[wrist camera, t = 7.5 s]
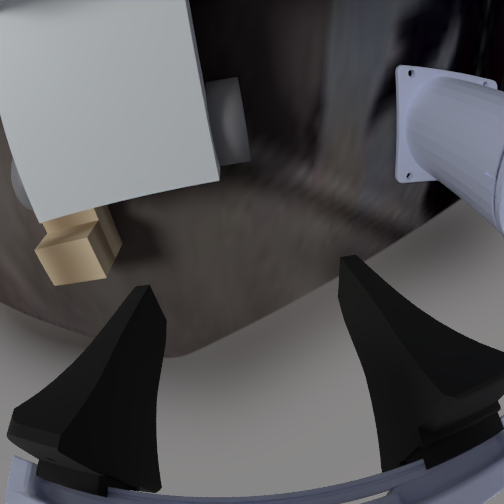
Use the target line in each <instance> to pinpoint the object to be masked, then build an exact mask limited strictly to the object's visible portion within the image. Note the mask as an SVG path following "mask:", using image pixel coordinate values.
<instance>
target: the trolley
mask: <svg viewBox="0 0 504 504" xmlns="http://www.w3.org/2000/svg"><path fill="white" fill-rule="evenodd" d="M0 115H1V119H2V123H3V126H4V130H5V133H6V137H7V140H8V143H9V146H10V149H11V152H12V156H13V160H12V166H11V179H12V184H13V188H14V191H15V193H16V196H17V197H18V199H19V201H20V202H21V203H22V204H23V205H24V206H25V207H26V208H27V209H29V210H31V211H34V212H35V214H36V217H37V219H38V221H39V223H42V222H45V221H49V220H52V219H55V218H59V217H62V216H66V215H69V214H73V213H77V212H80V211H84V210H88V209H92V208H95V207H99V206H103V205H107V204H111V203H115V202H119V201H123V200H128V199H132V198H136V197H140V196H145V195H149V194H154V193H159V192H163V191H168V190H173V189H178V188H183V187H188V186H193V185H198V184H204V183H209V182H215V181H219V180H220V166H224V165H230V164H236V163H242V162H248V161H251V156H250V148H249V142H248V135H247V129H246V122H245V116H244V110H243V104H242V98H241V93H240V87H239V82H238V78H237V77H234V78H228V79H222V80H216V81H211V82H206V92H205V87H204V82H203V76H202V71H201V65H200V60H199V55H198V49H197V44H196V38H195V32H194V27H193V21H192V16H191V10H190V4H189V0H0ZM219 164H220V165H219Z"/></svg>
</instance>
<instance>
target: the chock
mask: <svg viewBox="0 0 504 504" xmlns="http://www.w3.org/2000/svg"><path fill="white" fill-rule="evenodd" d="M42 223H43V225H44V227H45V229H46V231H47V235H46V236H45V237H44V238H43V240H42V241H41V242H40V243H39V245H38V246H37V247H36V249H35V252H36V254H37V256H38V258H39V260H40V261H41V263H42V265H43V267H44V269H45V270H46V272H47V274H48V276H49V277H50V279H51V281H52V282H53V284H54V286H57V285H64V284H70V283H77V282H83V281H90V280H96V279H103V278H107V276H108V274H109V272H110V270H111V267H112V265H113V263H114V261H115V259H116V256H117V254H118V252H119V250H120V248H121V246H122V244H123V243H122V241H121V238H120V236H119V233H118V231H117V229H116V226H115V224H114V221H113V218H112V216H111V213H110V211H109V208H108V206H107V205H103V206H99V207H95V208H92V209H88V210H84V211H80V212H77V213H73V214H69V215H66V216H62V217H59V218H55V219H52V220H49V221H45V222H42Z"/></svg>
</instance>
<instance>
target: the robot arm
mask: <svg viewBox="0 0 504 504" xmlns="http://www.w3.org/2000/svg"><path fill="white" fill-rule="evenodd" d="M409 70H410V71H411V72H412V75H411V76H409V75H408V71H409ZM395 74H396V97H397V144H396V168H395V178H396V180H397V181H399V182H400V183H409V182H421V181H434V180H438V181H440V182H441V183H442V184H444V185H445V186H446V187H447V188H449V189H450V190H451V191H453V192H454V193H455V194H456V195H458V196H459V197H460V198H461V199H462V200H464V201H465V202H466V203H467V204H468V205H470V206H471V207H472V208H473V209H474V210H475V211H477V212H478V213H479V214H480V215H481V216H482V217H484V218H485V219H486V220H487V221H488V222H489V223H490V224H491V225H492V226H493V227H494V228H495V229H497V230H498V231H499V232H500V233H501V234H502V235H503V237H504V92H503V91H500V90H497V84H496V82H495V81H493V80H489V79H485V78H481V77H476V76H472V75H467V74H462V73H457V72H451V71H445V70H438V69H432V68H424V67H416V66H406V65H399V66H398V67H397V68H396V71H395ZM483 84H484V85H483ZM408 173H410V175H409V177H406V176H407V174H408ZM338 299H339V303H340V307H341V311H342V314H343V318H344V321H345V323H346V326H347V328H348V331H349V334H350V336H351V339H352V341H353V344H354V346H355V349H356V351H357V354H358V356H359V359H360V361H361V364H362V367H363V370H364V373H365V376H366V380H367V384H368V389H369V392H370V397H371V401H372V406H373V411H374V416H375V422H376V428H377V434H378V441H379V450H380V458H381V469H382V473H380V474H377V475H373V476H370V477H366V478H362V479H359V480H355V481H351V482H346V483H342V484H338V485H333V486H328V487H323V488H317V489H312V490H306V491H299V492H292V493H284V494H276V495H264V496H250V497H221V498H220V497H183V496H169V495H159V494H150V493H142V492H135V491H143V492H144V491H145V492H152V493H156V492H158V491H159V490H160V489H161V488H162V486H161V480H160V472H159V464H158V454H157V438H156V405H157V404H156V403H157V392H158V386H159V380H160V374H161V368H162V362H163V356H164V350H165V344H166V323H167V320H166V318H165V316H164V314H163V312H162V310H161V308H160V306H159V304H158V302H157V300H156V297H155V295H154V293H153V291H152V289H151V287H150V285H144V286H136V287H135V288H134V289H133V290H132V292H131V293H130V294H129V295H128V297H127V298H126V299H125V300H124V302H123V303H122V304H121V306H120V307H119V308H118V310H117V311H116V312H115V314H114V315H113V316H112V318H111V319H110V320H109V321H108V323H107V324H106V325H105V327H104V328H103V329H102V330H101V331H100V333H99V334H98V335H97V336H96V338H95V339H94V340H93V341H92V343H91V344H90V345H89V346H88V347H87V348H86V349H85V351H84V352H83V353H82V354H81V355H80V356H79V357H78V358H77V359H76V360H75V361H74V363H72V364H71V365H70V366H69V367H68V368H67V369H66V370H65V371H64V372H63V373H62V374H60V375H59V376H58V377H57V378H56V379H55V380H54V381H53V382H51V383H50V384H49V385H48V386H46V387H45V388H44V389H43V390H42V391H40V392H39V393H37V394H36V395H35V396H33V397H32V398H30V399H29V400H27V401H26V402H24V403H22V404H21V405H20V406H18V407H16V408H15V409H14V411H13V414H12V418H11V421H10V425H9V428H8V432H7V437H8V439H9V440H10V441H11V442H12V443H14V444H15V445H17V446H18V447H19V448H21V449H23V450H24V451H26V452H27V453H29V454H31V455H32V456H34V457H36V458H38V459H39V462H38V465H37V464H35V463H32V462H30V461H28V460H25V459H22V458H20V457H17V456H13V459H12V464H11V468H10V473H9V479H8V484H7V490H6V497H5V504H341V503H345V502H350V501H353V500H358V499H361V498H365V497H368V496H372V495H375V494H379V493H382V492H386V491H389V490H390V491H389V492H388V493H387V495H386V496H384V497H381V498H378V499H375V500H372V501H368V502H365V503H362V504H484V503H485V502H487V501H488V500H490V499H491V498H493V497H494V496H495V495H497V494H498V493H499V492H501V491H502V490H503V489H504V415H503V416H502V417H501V418H500V417H499V415H498V411H499V410H500V408H501V407H500V404H499V402H498V400H499V399H500V398H501V397H502V396H503V395H504V352H502V351H500V350H497V349H494V348H491V347H489V346H486V345H484V344H481V343H479V342H477V341H475V340H473V339H470V338H468V337H466V336H464V335H462V334H460V333H458V332H456V331H455V330H453V329H451V328H449V327H447V326H446V325H444V324H442V323H440V322H439V321H437V320H435V319H434V318H433V317H431V316H430V315H428V314H427V313H425V312H423V311H422V310H421V309H419V308H418V307H416V306H415V305H414V304H412V303H411V302H410V301H409V300H407V299H406V298H405V297H403V296H402V295H401V294H400V293H398V292H397V291H396V290H395V289H394V288H392V287H391V286H390V285H389V284H388V283H387V282H385V281H384V280H383V279H382V278H381V277H380V276H379V275H378V274H377V273H375V272H374V271H373V270H372V269H371V268H370V267H369V266H368V265H367V264H365V263H364V262H363V261H362V260H361V259H360V258H359V257H358V256H356V255H351V256H345V257H340V273H339V289H338ZM130 490H133V491H130Z"/></svg>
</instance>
